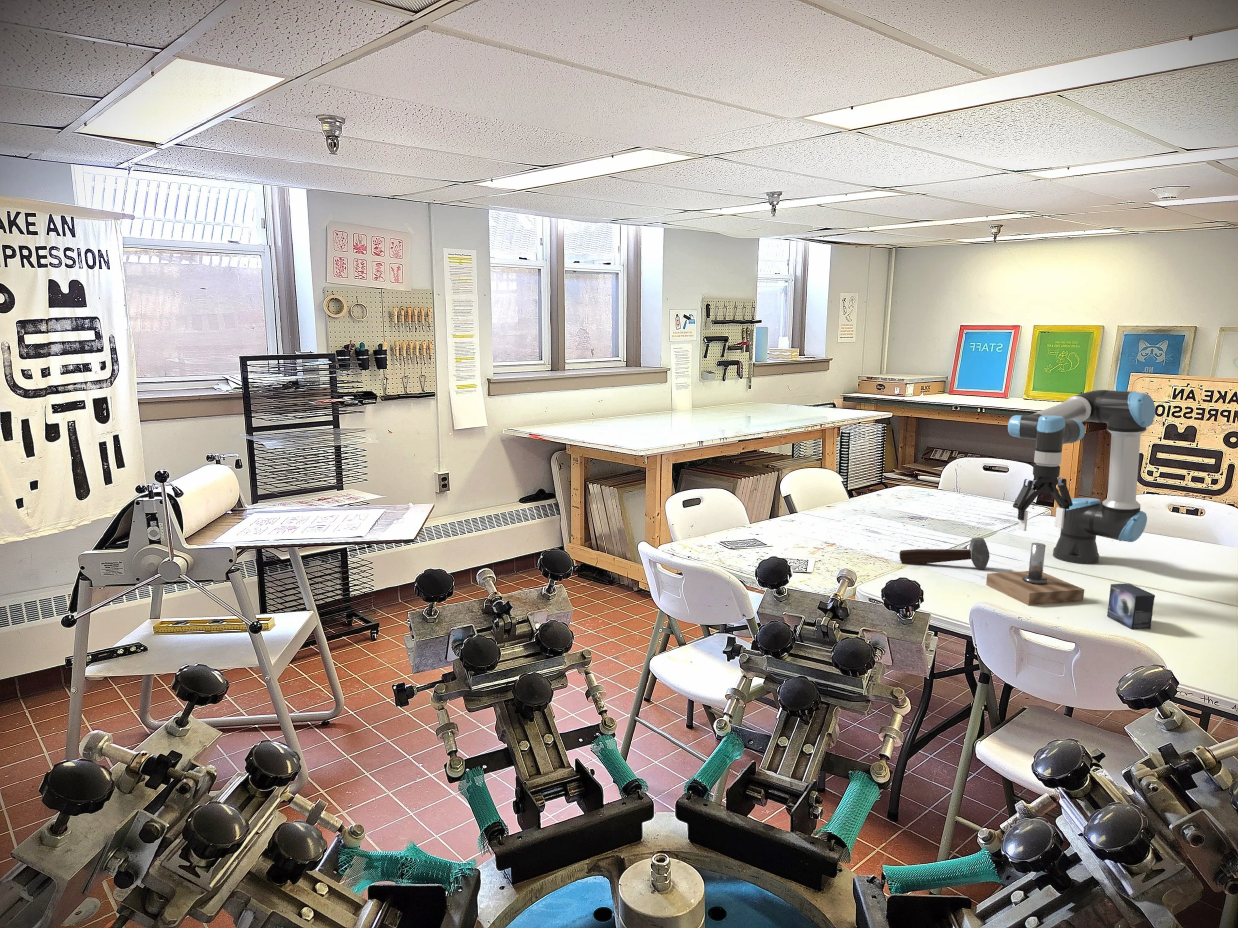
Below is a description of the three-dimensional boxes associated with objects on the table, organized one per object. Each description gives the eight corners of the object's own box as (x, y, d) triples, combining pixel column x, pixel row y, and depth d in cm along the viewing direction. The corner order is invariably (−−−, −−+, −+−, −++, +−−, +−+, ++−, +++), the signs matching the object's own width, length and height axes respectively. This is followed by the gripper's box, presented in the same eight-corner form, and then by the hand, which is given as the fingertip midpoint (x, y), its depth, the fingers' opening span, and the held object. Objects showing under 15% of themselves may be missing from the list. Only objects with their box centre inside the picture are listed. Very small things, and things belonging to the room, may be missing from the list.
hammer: (901, 574, 284) (990, 570, 277) (899, 544, 282) (988, 539, 275) (900, 570, 288) (987, 566, 281) (898, 541, 287) (985, 536, 280)
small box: (1104, 616, 233) (1109, 583, 232) (1125, 615, 234) (1129, 582, 232) (1130, 629, 223) (1135, 595, 221) (1151, 629, 224) (1156, 594, 222)
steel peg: (1035, 587, 258) (1040, 541, 255) (1050, 594, 251) (1056, 546, 248) (1016, 588, 256) (1021, 541, 253) (1031, 595, 249) (1037, 547, 247)
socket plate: (1037, 581, 265) (1038, 570, 265) (1083, 601, 246) (1084, 589, 245) (986, 584, 261) (987, 573, 260) (1028, 605, 242) (1029, 593, 241)
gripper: (1071, 460, 252) (1064, 523, 256) (1004, 463, 247) (998, 527, 251) (1089, 464, 245) (1082, 529, 249) (1021, 467, 240) (1014, 533, 244)
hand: (1040, 528), depth 250 cm, fingers open, 13 cm apart
